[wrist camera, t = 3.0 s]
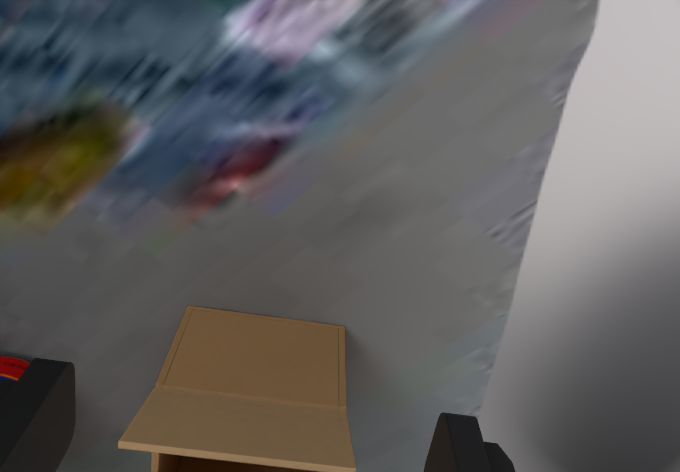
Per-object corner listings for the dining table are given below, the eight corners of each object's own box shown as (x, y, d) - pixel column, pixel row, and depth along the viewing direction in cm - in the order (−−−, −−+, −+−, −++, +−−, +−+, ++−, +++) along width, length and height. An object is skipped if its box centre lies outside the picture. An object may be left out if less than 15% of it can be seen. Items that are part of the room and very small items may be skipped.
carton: (187, 304, 48) (151, 392, 39) (344, 325, 49) (347, 416, 40) (176, 455, 54) (143, 562, 45) (316, 472, 55) (312, 580, 46)
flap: (152, 394, 39) (153, 387, 39) (345, 417, 40) (346, 411, 40) (117, 448, 31) (118, 440, 31) (355, 476, 32) (356, 468, 32)
